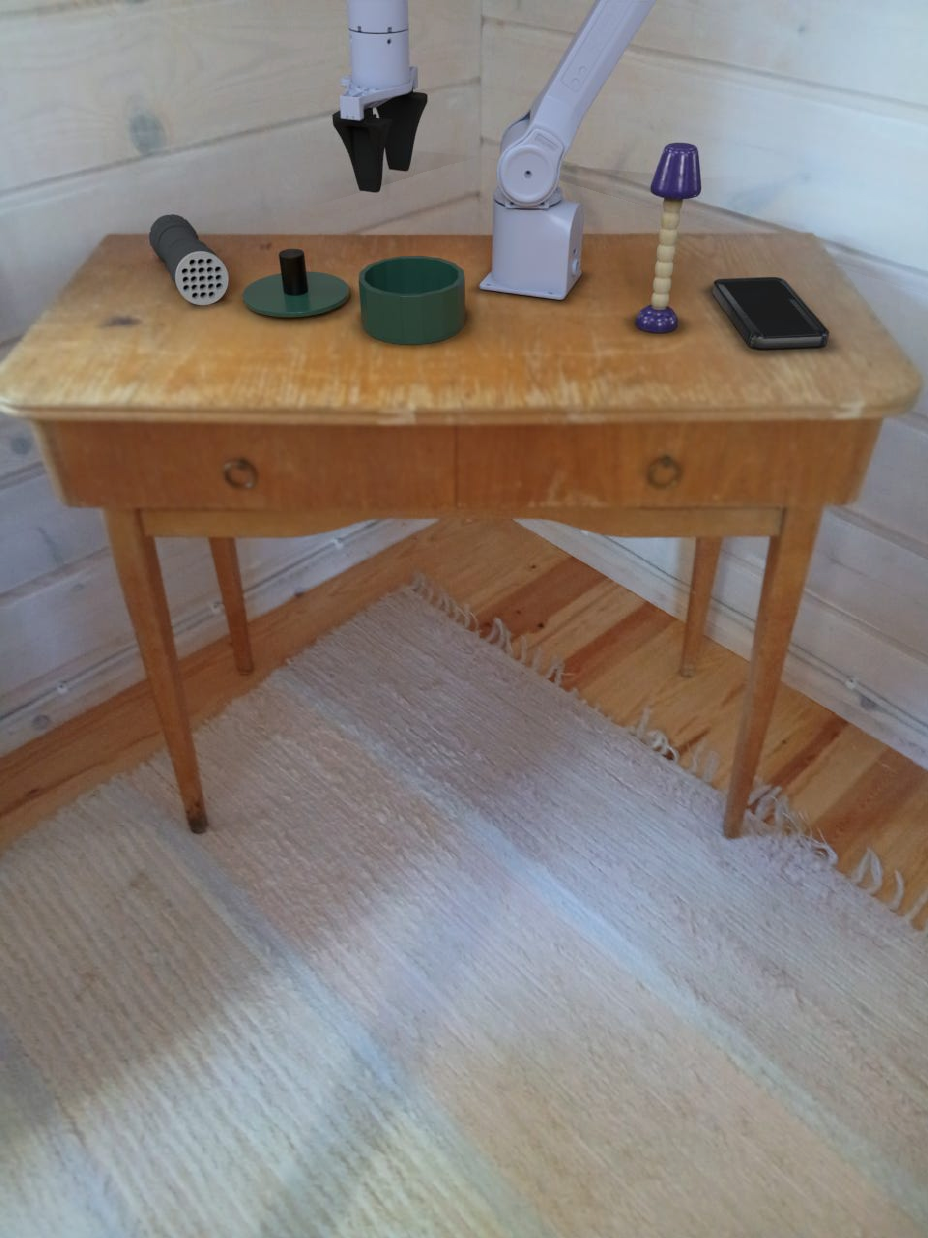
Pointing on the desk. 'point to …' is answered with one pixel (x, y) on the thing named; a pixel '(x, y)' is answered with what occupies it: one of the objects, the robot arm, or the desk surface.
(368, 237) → the desk surface
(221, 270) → the flashlight
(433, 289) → the pot
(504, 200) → the robot arm
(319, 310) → the lid
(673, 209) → the toy lamp
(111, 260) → the desk surface
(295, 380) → the desk surface
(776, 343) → the phone
